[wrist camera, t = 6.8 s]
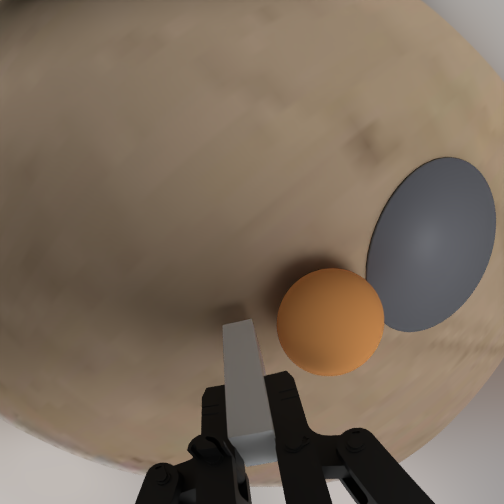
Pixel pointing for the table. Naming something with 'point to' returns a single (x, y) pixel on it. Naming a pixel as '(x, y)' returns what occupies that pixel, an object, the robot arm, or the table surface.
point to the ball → (330, 322)
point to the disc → (432, 244)
